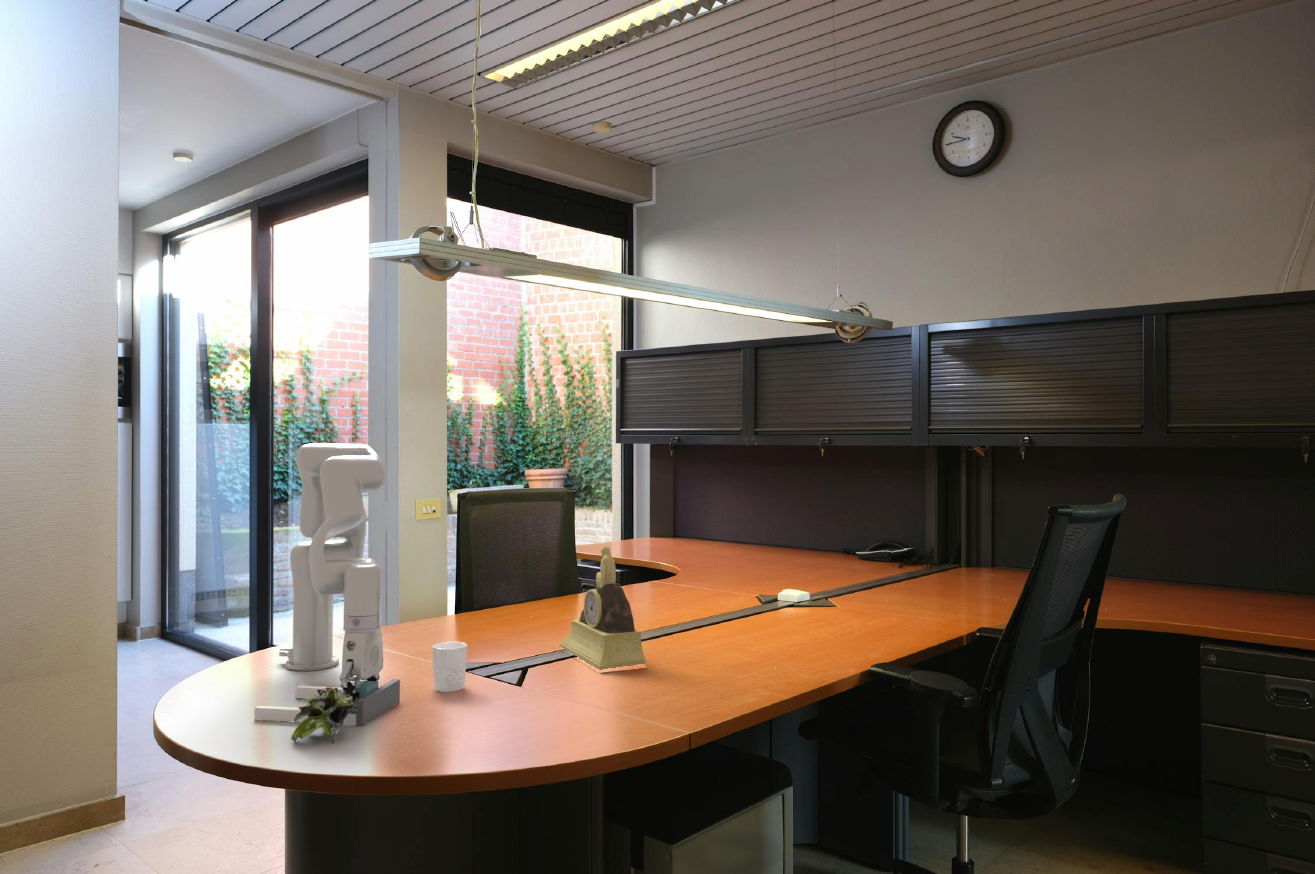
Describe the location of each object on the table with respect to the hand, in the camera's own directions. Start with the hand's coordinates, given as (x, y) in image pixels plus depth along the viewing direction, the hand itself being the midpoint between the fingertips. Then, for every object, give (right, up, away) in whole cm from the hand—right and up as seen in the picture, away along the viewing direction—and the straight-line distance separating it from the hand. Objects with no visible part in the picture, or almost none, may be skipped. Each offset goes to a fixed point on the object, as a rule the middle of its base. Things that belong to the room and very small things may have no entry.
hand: (361, 705), depth 186 cm
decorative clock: (+47, -3, +49) cm, 68 cm away
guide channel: (-7, -1, +1) cm, 7 cm away
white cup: (+14, -2, +19) cm, 24 cm away
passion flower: (-1, -2, -16) cm, 16 cm away
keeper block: (0, -2, 0) cm, 2 cm away
